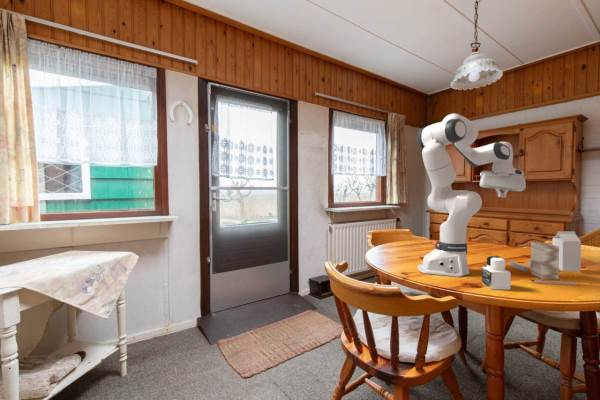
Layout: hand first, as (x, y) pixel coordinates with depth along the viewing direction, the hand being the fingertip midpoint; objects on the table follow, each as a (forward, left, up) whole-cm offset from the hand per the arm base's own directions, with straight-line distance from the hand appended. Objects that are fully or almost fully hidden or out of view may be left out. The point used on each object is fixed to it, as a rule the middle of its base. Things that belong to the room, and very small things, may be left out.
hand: (501, 197), depth 142 cm
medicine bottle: (-18, -38, -36) cm, 55 cm away
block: (+7, -23, -34) cm, 42 cm away
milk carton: (+24, -8, -36) cm, 43 cm away
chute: (+7, -17, -35) cm, 40 cm away
